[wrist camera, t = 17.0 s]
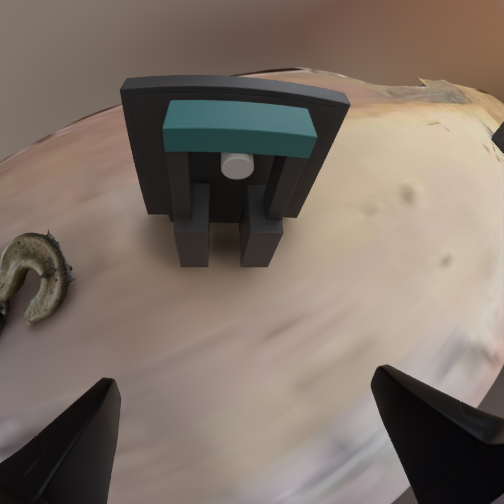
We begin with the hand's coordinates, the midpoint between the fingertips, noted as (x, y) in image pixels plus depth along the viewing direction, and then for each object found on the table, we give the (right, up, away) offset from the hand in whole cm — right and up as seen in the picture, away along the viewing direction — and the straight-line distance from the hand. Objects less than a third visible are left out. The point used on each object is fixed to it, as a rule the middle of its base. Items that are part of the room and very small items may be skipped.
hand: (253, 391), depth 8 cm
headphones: (-2, +5, +15) cm, 16 cm away
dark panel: (-3, +8, +19) cm, 21 cm away
